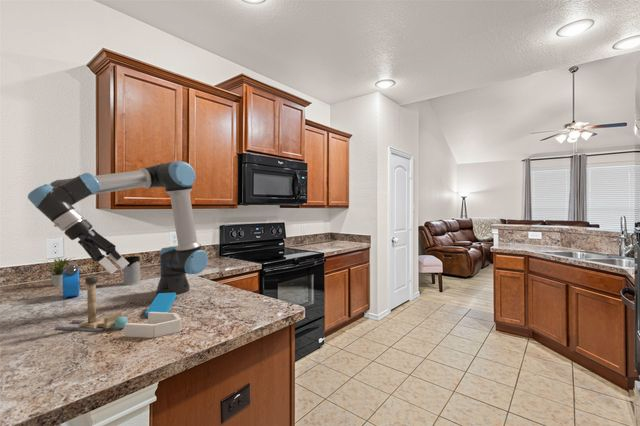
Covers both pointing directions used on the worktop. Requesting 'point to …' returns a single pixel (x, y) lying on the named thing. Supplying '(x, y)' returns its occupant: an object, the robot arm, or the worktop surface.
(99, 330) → the track
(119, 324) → the ball
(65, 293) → the alarm clock
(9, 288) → the worktop surface
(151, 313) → the pocket
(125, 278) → the glass holder
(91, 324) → the plunger
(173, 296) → the blue long block
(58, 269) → the house plant
